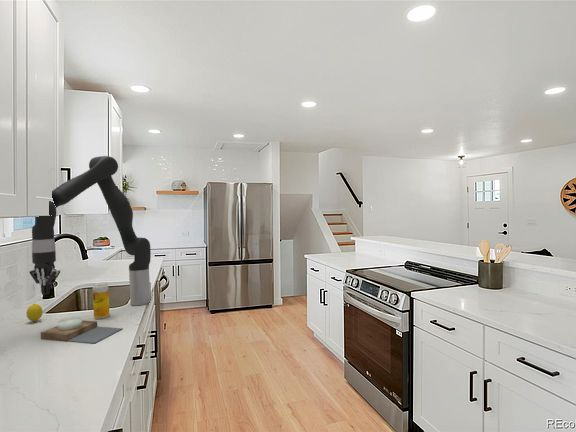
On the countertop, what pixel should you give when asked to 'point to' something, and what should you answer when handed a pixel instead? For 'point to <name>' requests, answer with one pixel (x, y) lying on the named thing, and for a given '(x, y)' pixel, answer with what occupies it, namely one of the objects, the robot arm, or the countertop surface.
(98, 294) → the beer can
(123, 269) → the countertop surface
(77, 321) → the pale green rounded disc
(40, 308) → the lemon
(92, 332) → the mat
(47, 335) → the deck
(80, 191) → the robot arm
